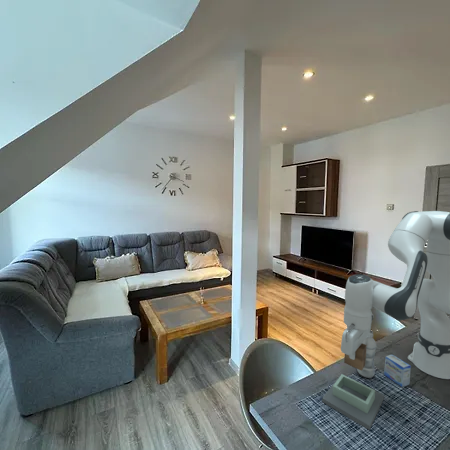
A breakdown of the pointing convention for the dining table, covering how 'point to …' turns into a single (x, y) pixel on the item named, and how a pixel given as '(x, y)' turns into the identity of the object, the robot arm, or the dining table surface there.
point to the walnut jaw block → (357, 358)
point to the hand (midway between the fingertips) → (355, 355)
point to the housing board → (354, 400)
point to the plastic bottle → (369, 357)
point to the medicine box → (397, 370)
